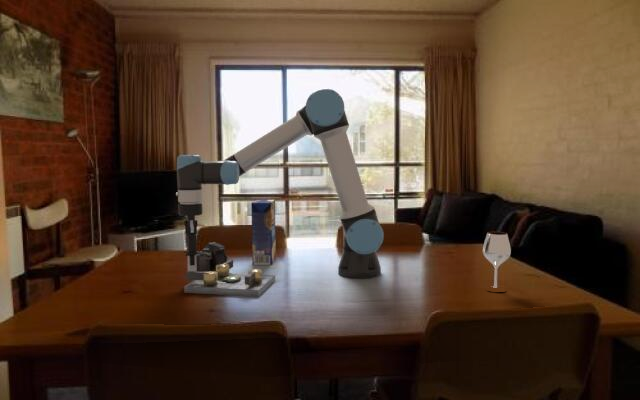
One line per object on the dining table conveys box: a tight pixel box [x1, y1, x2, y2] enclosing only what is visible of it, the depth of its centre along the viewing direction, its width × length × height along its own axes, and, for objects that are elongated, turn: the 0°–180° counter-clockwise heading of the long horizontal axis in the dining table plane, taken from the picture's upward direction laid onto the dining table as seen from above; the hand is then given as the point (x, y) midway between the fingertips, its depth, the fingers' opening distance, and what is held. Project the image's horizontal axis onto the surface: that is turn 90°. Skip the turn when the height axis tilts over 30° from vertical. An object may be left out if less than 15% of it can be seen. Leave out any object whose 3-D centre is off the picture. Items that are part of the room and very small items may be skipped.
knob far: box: [215, 259, 234, 277], centre depth 164 cm, size 10×4×3 cm, turn 170°
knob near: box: [185, 270, 218, 285], centre depth 152 cm, size 10×4×3 cm, turn 80°
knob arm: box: [245, 268, 263, 285], centre depth 151 cm, size 10×4×3 cm, turn 170°
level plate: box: [183, 272, 276, 298], centre depth 155 cm, size 24×18×3 cm
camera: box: [196, 241, 228, 272], centre depth 178 cm, size 13×10×10 cm
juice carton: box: [250, 199, 277, 266], centre depth 190 cm, size 12×8×24 cm, turn 178°
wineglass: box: [482, 231, 512, 288], centre depth 150 cm, size 8×8×18 cm
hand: (192, 274), depth 158 cm, fingers closed
